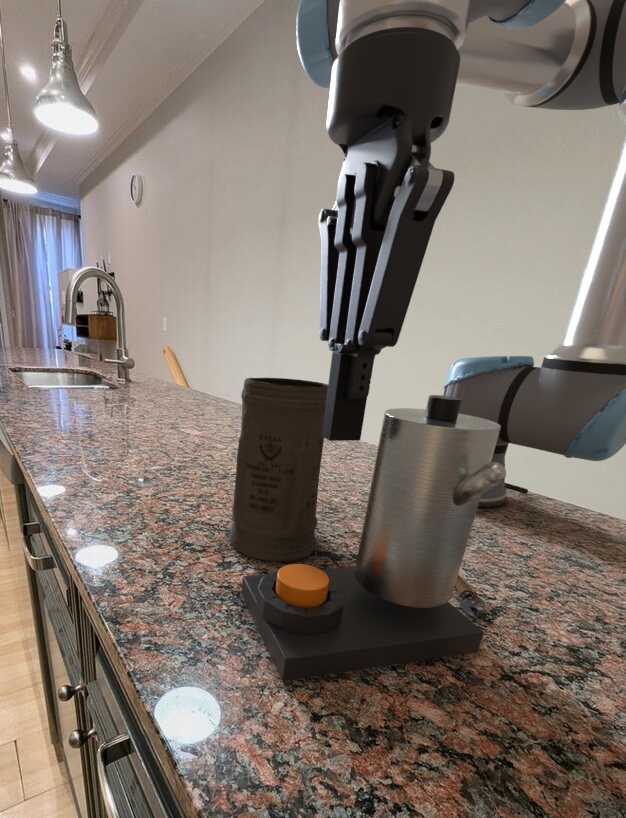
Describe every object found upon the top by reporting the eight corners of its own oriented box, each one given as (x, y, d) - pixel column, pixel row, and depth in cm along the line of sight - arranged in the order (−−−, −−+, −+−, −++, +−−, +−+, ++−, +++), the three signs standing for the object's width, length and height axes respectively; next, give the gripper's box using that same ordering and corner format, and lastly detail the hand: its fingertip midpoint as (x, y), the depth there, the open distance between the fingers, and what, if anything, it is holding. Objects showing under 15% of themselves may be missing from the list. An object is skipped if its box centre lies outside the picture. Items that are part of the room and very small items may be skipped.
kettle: (398, 543, 49) (433, 387, 42) (500, 623, 36) (572, 416, 30) (326, 548, 46) (352, 383, 40) (407, 635, 34) (464, 413, 27)
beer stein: (311, 572, 49) (339, 385, 43) (218, 557, 51) (231, 375, 45) (317, 527, 64) (338, 382, 57) (243, 516, 65) (256, 374, 59)
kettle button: (313, 578, 41) (316, 561, 40) (335, 605, 37) (338, 587, 37) (268, 582, 40) (270, 565, 39) (286, 610, 36) (288, 592, 35)
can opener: (442, 574, 51) (445, 565, 51) (464, 577, 51) (466, 568, 50) (466, 620, 43) (469, 610, 42) (491, 624, 42) (495, 614, 42)
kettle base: (398, 580, 49) (405, 548, 48) (477, 652, 39) (490, 614, 37) (239, 595, 44) (242, 559, 43) (280, 682, 34) (286, 639, 32)
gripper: (297, 91, 32) (271, 421, 41) (405, -35, 20) (335, 462, 30) (389, 111, 34) (344, 421, 43) (535, 6, 22) (431, 460, 32)
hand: (340, 438), depth 36 cm, fingers closed
